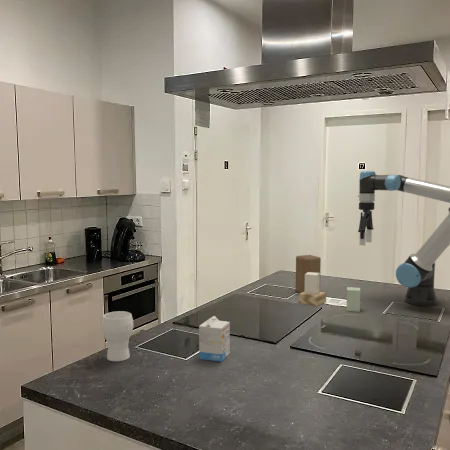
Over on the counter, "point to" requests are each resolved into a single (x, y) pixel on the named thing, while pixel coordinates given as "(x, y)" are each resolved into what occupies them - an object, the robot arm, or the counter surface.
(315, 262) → the wooden block
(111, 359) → the cup
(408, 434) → the counter surface
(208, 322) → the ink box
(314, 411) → the counter surface
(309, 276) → the cream block
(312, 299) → the oak base
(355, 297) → the sage block
